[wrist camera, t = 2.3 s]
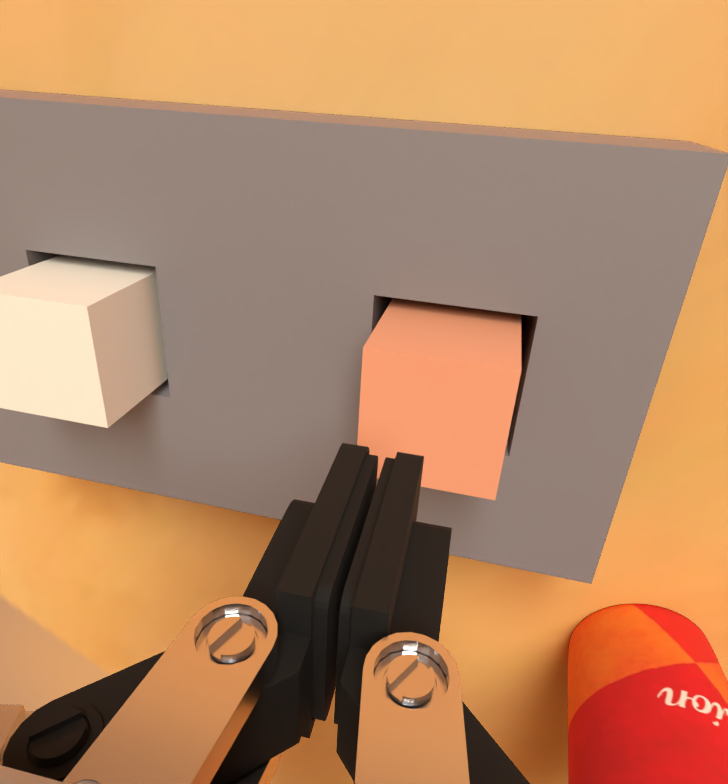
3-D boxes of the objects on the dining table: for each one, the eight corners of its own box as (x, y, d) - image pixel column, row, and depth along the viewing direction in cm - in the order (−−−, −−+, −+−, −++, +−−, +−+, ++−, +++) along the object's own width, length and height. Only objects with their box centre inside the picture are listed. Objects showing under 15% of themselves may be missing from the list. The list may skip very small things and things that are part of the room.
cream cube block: (175, 372, 22) (108, 428, 18) (81, 356, 23) (-2, 407, 19) (165, 267, 20) (86, 306, 17) (62, 254, 21) (-35, 289, 17)
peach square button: (499, 425, 20) (495, 500, 16) (384, 406, 21) (355, 474, 17) (521, 313, 18) (521, 370, 14) (393, 297, 19) (362, 347, 15)
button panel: (580, 512, 24) (591, 583, 20) (62, 416, 28) (-1, 461, 25) (689, 141, 17) (731, 154, 14) (-8, 88, 22) (-108, 88, 18)
